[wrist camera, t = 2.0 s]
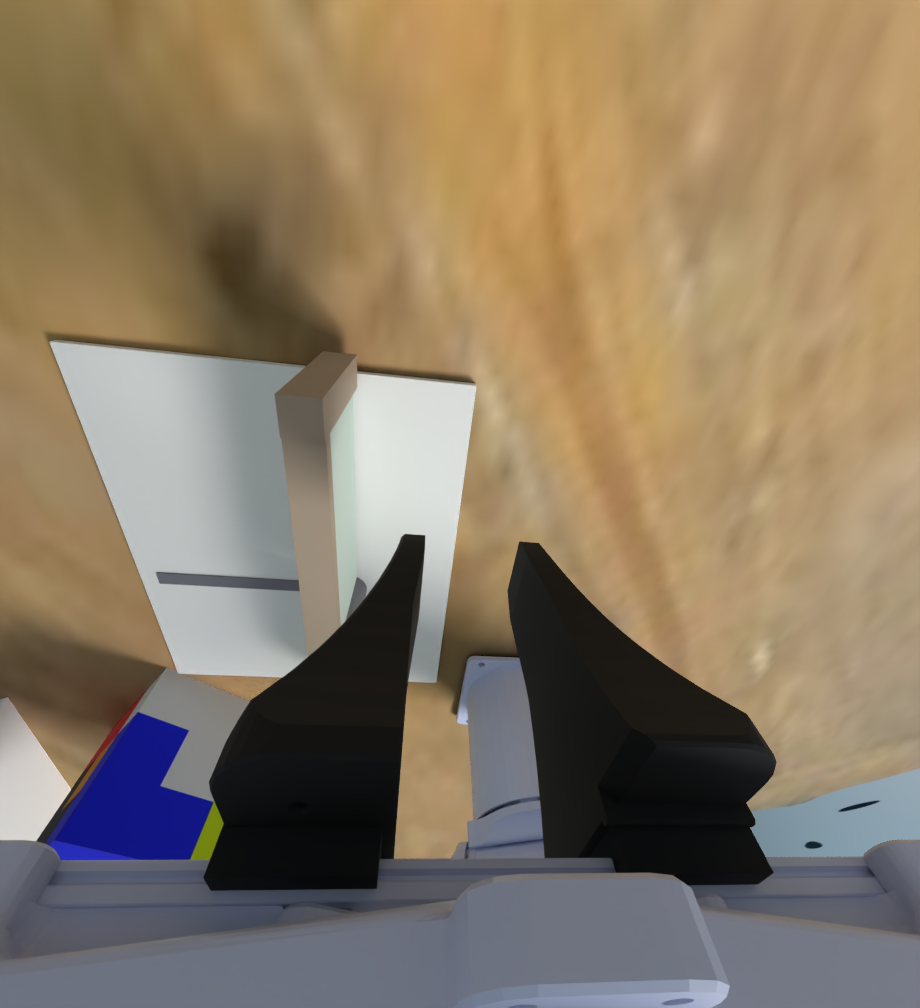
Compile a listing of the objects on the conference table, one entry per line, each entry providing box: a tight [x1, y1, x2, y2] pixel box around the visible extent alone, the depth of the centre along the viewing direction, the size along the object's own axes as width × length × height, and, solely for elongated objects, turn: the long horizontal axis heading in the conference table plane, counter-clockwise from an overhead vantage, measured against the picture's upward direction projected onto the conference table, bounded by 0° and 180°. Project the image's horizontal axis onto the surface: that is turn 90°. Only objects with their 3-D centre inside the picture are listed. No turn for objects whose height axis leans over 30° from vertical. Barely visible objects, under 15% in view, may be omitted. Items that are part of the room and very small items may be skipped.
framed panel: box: [275, 351, 357, 656], centre depth 18 cm, size 12×1×6 cm, turn 173°
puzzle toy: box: [37, 668, 249, 860], centre depth 28 cm, size 10×10×10 cm
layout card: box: [49, 340, 476, 683], centre depth 24 cm, size 18×22×1 cm
